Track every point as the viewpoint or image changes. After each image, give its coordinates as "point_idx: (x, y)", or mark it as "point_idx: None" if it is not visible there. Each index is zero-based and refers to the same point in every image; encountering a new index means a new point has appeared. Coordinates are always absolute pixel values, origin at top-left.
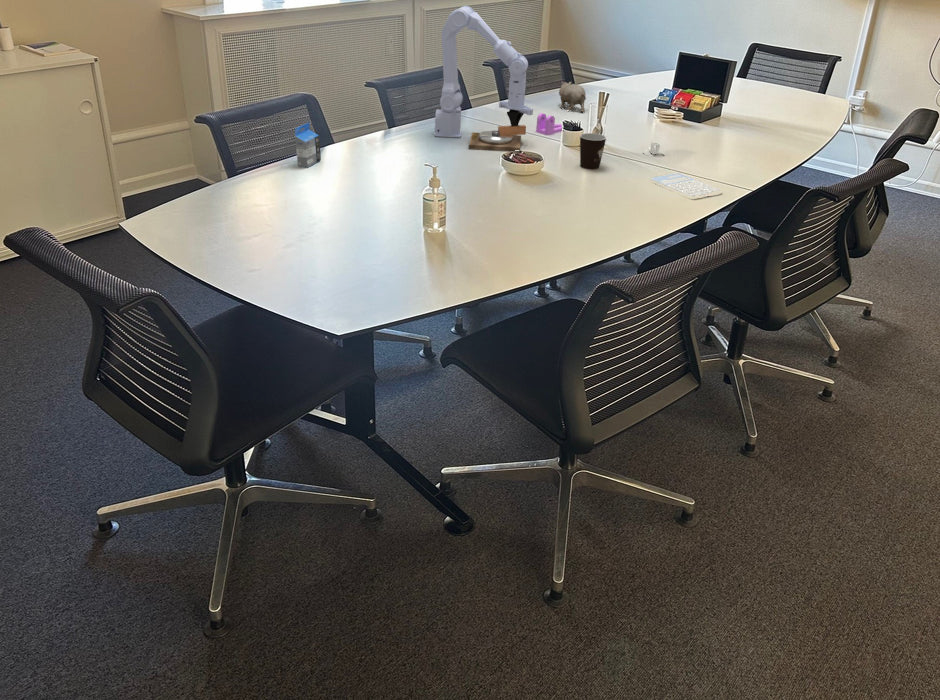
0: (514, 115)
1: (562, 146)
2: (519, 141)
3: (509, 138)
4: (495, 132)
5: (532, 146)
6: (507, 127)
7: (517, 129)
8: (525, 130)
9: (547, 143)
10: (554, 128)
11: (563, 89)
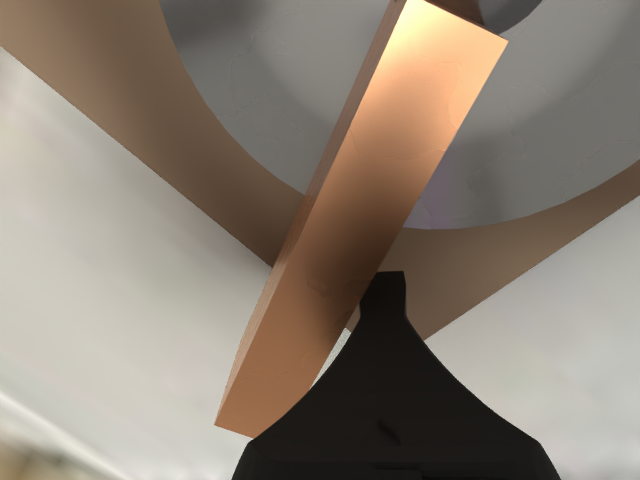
0: (246, 455)
1: (48, 437)
2: (206, 197)
3: (169, 23)
4: None
5: (137, 266)
6: (330, 167)
7: (266, 300)
8: (230, 375)
9: (166, 414)
10: None
11: None
